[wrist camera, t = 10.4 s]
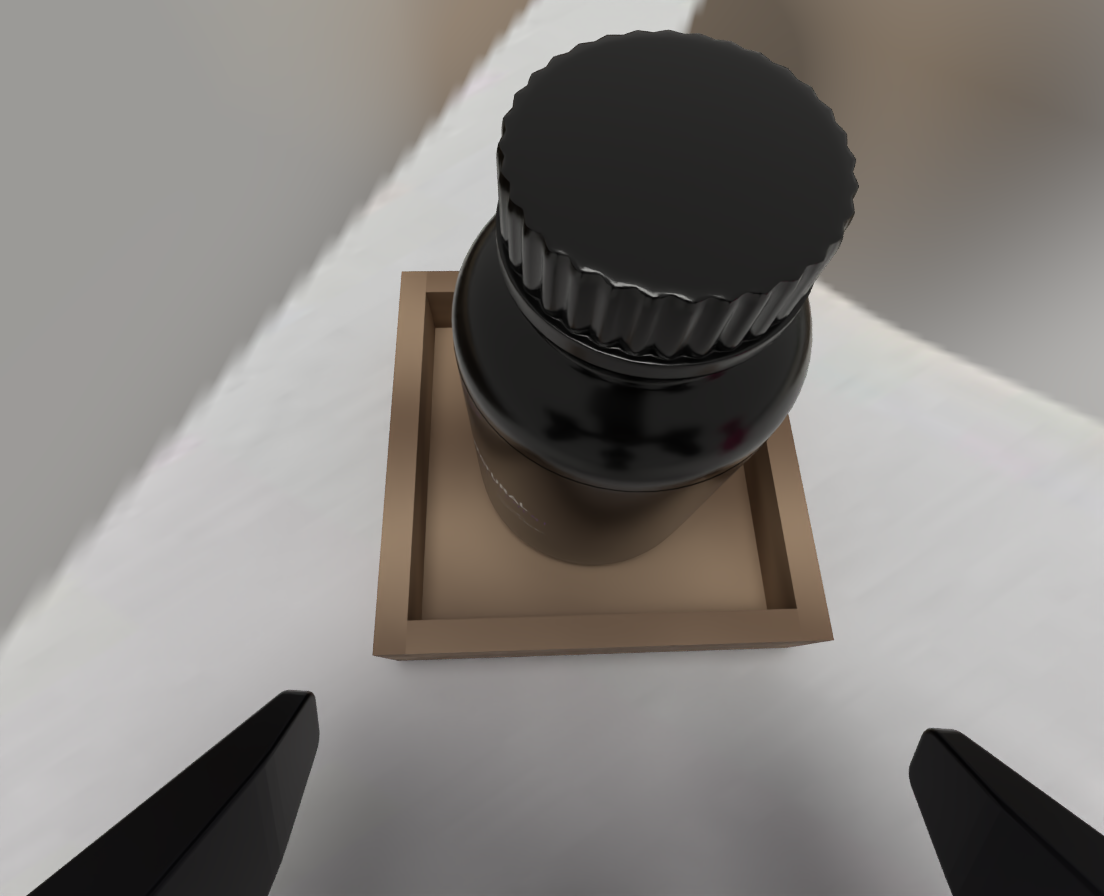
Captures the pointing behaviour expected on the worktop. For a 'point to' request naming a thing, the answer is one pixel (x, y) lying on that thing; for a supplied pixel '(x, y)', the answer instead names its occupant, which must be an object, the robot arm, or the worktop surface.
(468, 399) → the supplement bottle
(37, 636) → the worktop surface
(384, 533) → the tray
